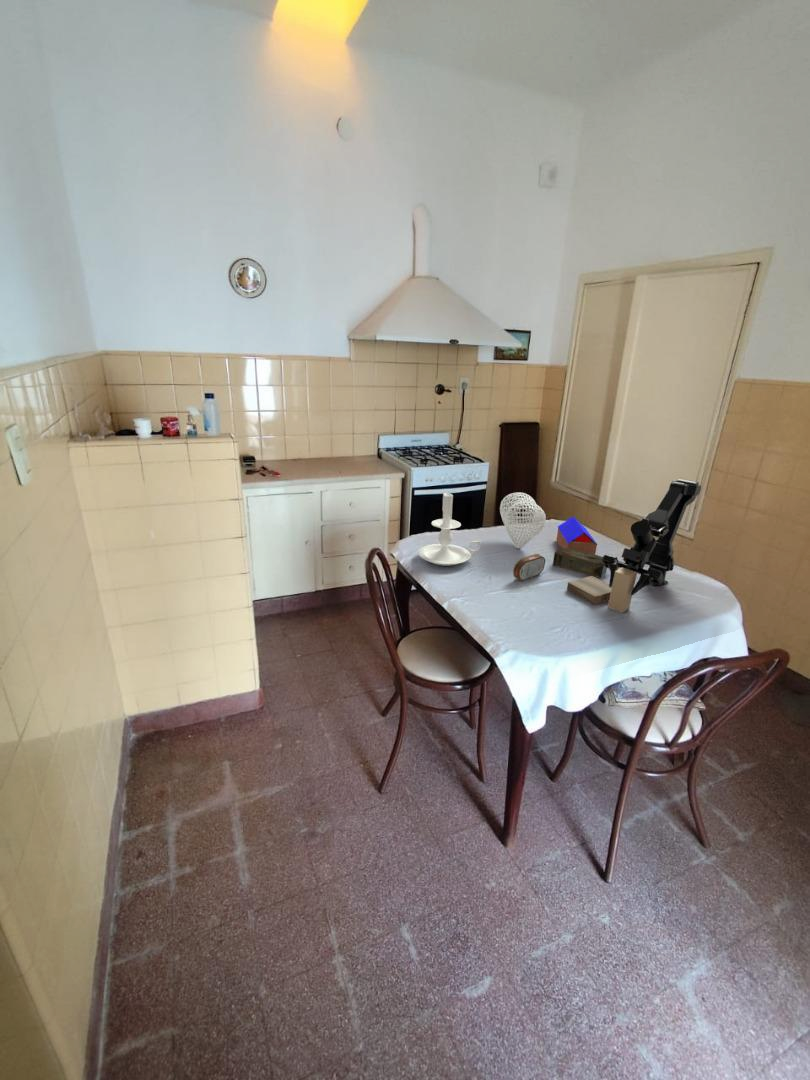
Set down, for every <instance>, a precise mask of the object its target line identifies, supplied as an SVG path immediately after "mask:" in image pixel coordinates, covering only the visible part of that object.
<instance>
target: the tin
mask: <svg viewBox="0 0 810 1080" xmlns="http://www.w3.org/2000/svg"><path fill="white" fill-rule="evenodd" d="M545 565H546V558H545V557H544V556H543V555H541V554H539V553H535V554H532V555H528V556H524V557H522V558H520V559H519V560H517V562H516V564H515V565H514V568H513V570H512V571H513V572H512V573H513V576H514V578H515V579H518V580H520V581H521V582H522V581H526V580H529V579H532V578H534V577H537V576H539V575H540V574H541V573H542V572H543V571H544V568H545Z"/></svg>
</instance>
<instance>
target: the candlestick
mask: <svg viewBox="0 0 810 1080" xmlns="http://www.w3.org/2000/svg"><path fill="white" fill-rule="evenodd" d="M453 500H454V495H453V494H452V493H450V492H443V494H442V510H441V511H442V518H438V519H435V520H432V521H431V523H430V524H431V525H432V526H433V527H435V528H439V529H441V530H440V532H439V533H438V536H437V540H438V543H432V544H428V545H425V546H422V547H421V548H419V550H418V552H417V553H418V556H419V558H421V559H423V560H424V561H427V562H429V563H431V564H434V565H437V566H443V567H444V566H447V567H448V566H449V567H450V566H455V565H459V564H461V563H462V564H463V563H466V562H467V561H468V560H469V559H470V558H471V557H475V555H476V553H477V552H478V551H479V550H480V548H481V545H480V543H482V542H483V541H482V540H473V541H470V542H469V543H468V549H466V548H464V547H463V546H460V545H456V544H451V543H452V542H453V539H454V536H453V534H452V531H451V530H452V529H457V528H460V527H461V526H462V524H461V522H459V521H457V520H455V519H453V518H452V517H453V502H454V501H453ZM473 544H476V545H477V548H475V549H472V548H471V546H472V545H473ZM471 553H472V554H471Z"/></svg>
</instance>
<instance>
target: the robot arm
mask: <svg viewBox="0 0 810 1080" xmlns="http://www.w3.org/2000/svg"><path fill="white" fill-rule="evenodd" d="M701 489H702V485H700V483H699V481H694V480H690V479H686V478H685V479H684V478H678V479H677V480H672V481H671V483H670V484H669V487H668V490H667V492H666V494H665V495H664V497H663V498H662V500H661V501H660V503H659V505H657V507H656V509H655V510H654V511H652V512H650V513H648V514H647V516H646V517H643V518H642V519H641V520H637V521H636V522H634V523H632V524H631V526H630V533H631V535H632V538H633V540H634V542H635V543H634V544H633V547H630V548H628V547H624V549H623V551H622V554H621V558H622V560H623V561H619V559H618V556H616V555H612V554H609V553H606V554H604V555H603V556H602V557H603V558H602V561H603V564H604V566H605V567H606V568H607V569H608V570H609V572H610V574H609V583H608V584H609V587H610V588H611V587H612V584H613V579H614V574H615V571H617V570H618V569H620V568H622V567H623V568H626V569H629V570H632V571H635V572H637V575H640V576H639V578H638V581H637V582H635V584H634V588H633V590H632V592H631V595H632V596H635V594H637V593H638V592H639V591H641V590H642V589H644V588H646V587H648V586H649V585H650V586H652V585H653V586H655V587H660V586H663V585H665V584H669V581H668V580H666V575H667V572H673V570H674V568H675V562H676V561H675V559H674V558H675V557H674V553H675V551H674V547H673V542H674V540H675V537H676V535H677V531H678V529H679V527H680V524H681V522H682V520H683V517H684V515H685V512H686V510H687V507H688V506H689V505H691V504H692V503H693V502H694V501H695V500H696V498H697V496H699V495H700V493H701ZM655 537H656V538H658V539H656V538H655ZM646 565H648V566H649V567H648V569H644V568H645V566H646Z"/></svg>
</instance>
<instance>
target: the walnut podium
mask: <svg viewBox="0 0 810 1080" xmlns="http://www.w3.org/2000/svg"><path fill="white" fill-rule="evenodd" d="M611 589H612V587H611V588H610V587H609V583H608V582H605V581H603V580H601V579H600V578H598V577H596V576H591V575H589V576H586V577H582V578H578V579H576V580H571V581H568V582H567V587H566V590H567V591H568V592H570V593H572V594H573V595H575V596H578V597H579V598H581V599H582V600H585V601H586V602H589V603H590V604H592V605H594V606H595V605H597V604H601V603H604V602H607V601H609V599H610V594H611Z"/></svg>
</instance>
